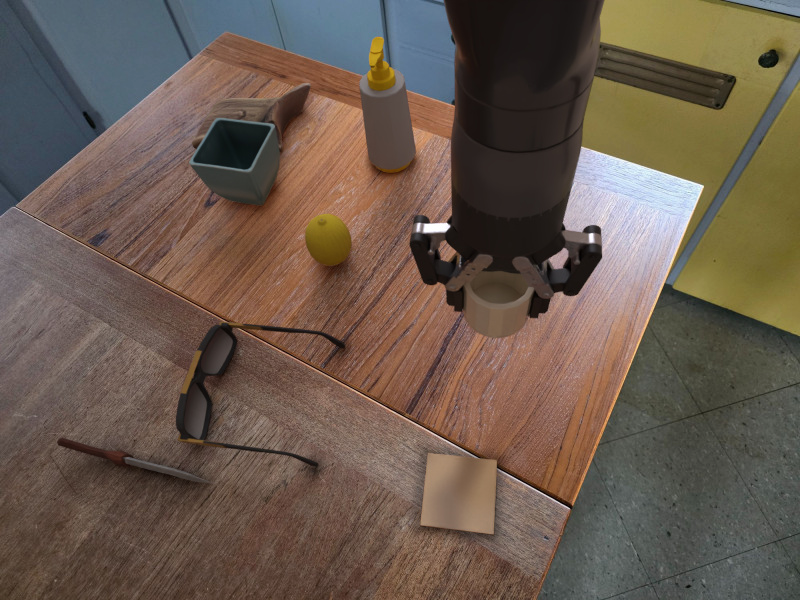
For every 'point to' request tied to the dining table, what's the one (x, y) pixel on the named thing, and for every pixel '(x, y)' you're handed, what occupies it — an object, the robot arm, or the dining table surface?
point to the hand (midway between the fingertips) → (496, 305)
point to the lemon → (328, 239)
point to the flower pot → (238, 160)
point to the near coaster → (459, 493)
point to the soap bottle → (386, 113)
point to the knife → (126, 459)
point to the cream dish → (497, 303)
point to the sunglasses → (213, 363)
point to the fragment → (258, 111)
